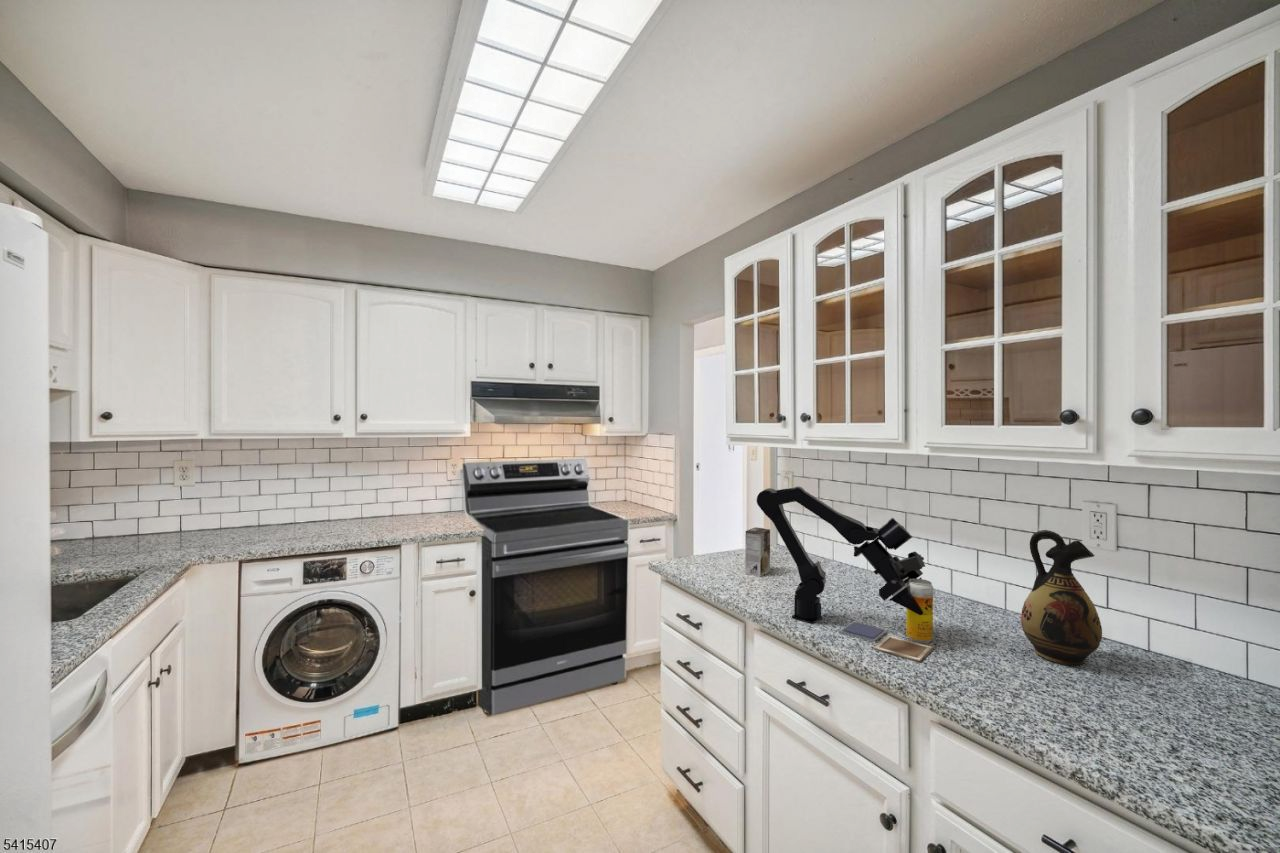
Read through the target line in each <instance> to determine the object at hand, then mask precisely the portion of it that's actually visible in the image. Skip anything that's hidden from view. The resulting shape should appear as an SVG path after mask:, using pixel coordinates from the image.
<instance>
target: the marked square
mask: <svg viewBox="0 0 1280 853" xmlns="http://www.w3.org/2000/svg"><path fill="white" fill-rule="evenodd" d="M873 649H874V650H873ZM934 649H935V647H933V646H932V645H931V646H930V645H926V644H924V643H918V642H914V641H912V640H909V639H908V640H907V639H903V638H899V637H896V636H892V635H887V636H885V637H884V638H883V639H881V641H879V642H878V643H876V644H875V645H874V646H873V647H872V650H873V651H877V650H878V651H877V652H880V651H881V653H884V654H888V655H892V656H895V657H899V658H902V659H905V660H910V661H913V662H915V663H919V664H921V663H923V661H924V660H925V659H926V658H927V657H928V656H929V654H931V653H932V652H933V651H934Z"/></svg>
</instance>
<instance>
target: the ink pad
mask: <svg viewBox="0 0 1280 853" xmlns="http://www.w3.org/2000/svg"><path fill="white" fill-rule="evenodd" d="M840 633H841V635H844V634H845V636H848V635H849V637H851V636H853V638H855V637H856V639H859V638H860V640H862V639H864V640H863V641H866V640H868V641H867V642H870V641H871V643H873V642H875V643H877V642H878V641H879V640H880V639H881V637H882V638H883V637H884V636H886V635H887V634H888V630H886V629H884V628H881V627H880V628H879V627H875V626H871V625H868V624H864V623H860V622H856V621H852V622H851V623H850V624H848V625H847V626H845V627H844V628H841V630H839V634H840ZM877 640H878V641H877Z"/></svg>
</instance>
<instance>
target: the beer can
mask: <svg viewBox="0 0 1280 853" xmlns="http://www.w3.org/2000/svg"><path fill="white" fill-rule="evenodd" d="M908 585H910V593H911V595H912V596H913V598H914V599H915V601H916V602H917V603H918V605H919V606H920V608H921V609H922V611H923V614H922V615H919V614H917V613H915V612H913V611H911V610H909V609H907V608H906V616H905V617H906V619H905V621H906V626H905V627H906V630H905V632H906V636H907V637H908V640H909V641H912V642H915V643H919V644H929V643H930V642H931V641H933V636H934V633H933V632H934V627H933V626H934V625H933V624H934V623H933V622H934V586H933V583H932V582H931V581H930V580H927V579H924V578H923V579H919V578H917V579H909V581H908V583H907V586H908Z"/></svg>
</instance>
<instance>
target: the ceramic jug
mask: <svg viewBox="0 0 1280 853" xmlns="http://www.w3.org/2000/svg"><path fill="white" fill-rule="evenodd" d="M1042 540H1051V541H1053V542H1054V543H1055V544H1056V545H1054V546H1052V547H1050V548H1049V549H1048V550H1047V551H1046V552H1045V556H1046V558H1048V559H1052V560H1053V562H1052V563H1053V564H1052V566H1051V567H1050V569H1049V570H1048V572H1047V571H1046V569H1045V565H1044V563H1043V561H1042V558H1041V554H1040V551H1039V546H1038V544H1039V542H1040V541H1042ZM1029 550H1030V554H1031V557H1032V560H1033V562H1034V565H1035V568H1036V572H1037V575H1036V577H1035V580H1034V583H1033V586H1032V589H1031V591H1030V592H1029V594H1028V596H1026V598H1025V600H1024V602H1023V606H1022V608H1021V614H1020V626H1021V629H1022V631H1023V633H1024V635H1025V637H1026V638H1027V640H1028V641H1029V642H1030V643H1031V644H1032V645H1033V647H1034V649H1033V652H1034V653H1035V654H1037V655H1038V656H1040V657H1042V658H1043V659H1045V660H1047V661H1050V662H1053V663H1057V664H1060V665H1064V666H1068V667H1077V666H1079V667H1081V666H1080V665H1082V666H1084V665H1083V664H1085V665H1086V663H1085V661H1086V659H1087V658H1088V657H1089V656H1090V655H1091V654H1093V653H1094V652H1095V651H1096V650H1097V649H1098V648H1099V646H1100V644H1101V641H1102V638H1103V628H1102V625H1101V624H1102V622H1101V620H1100V617H1099V614H1098V612H1097V609H1096V607H1095V604H1094V602H1093V601H1092V599H1091V598H1090V596H1089V595H1088V593H1087V592H1086V590H1085V588H1084V587H1083V586H1082V585H1081V583H1080V582H1079V581H1078V580H1077V578H1076V576H1075V575H1074V573H1073V571H1072V568H1071V566H1072V563H1073V562H1076V561H1078V560H1083V559H1088V558H1094V557H1095V556H1096V555H1095V554H1094V553H1093V552H1092V551H1091V550H1090V549H1089V548H1087V546H1086V545H1084V544H1083V542H1082V541H1080V540H1073V541H1072V542H1070V543H1068V544H1066V542H1065V540H1064V538H1063V537H1062V536H1061V535H1060V534H1059V533H1057V532H1055V531H1052V530H1048V529H1040V530H1038V531H1036V532H1034V533H1033V534H1032V535H1031V537H1030V540H1029ZM1012 648H1013V647H1012Z"/></svg>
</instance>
